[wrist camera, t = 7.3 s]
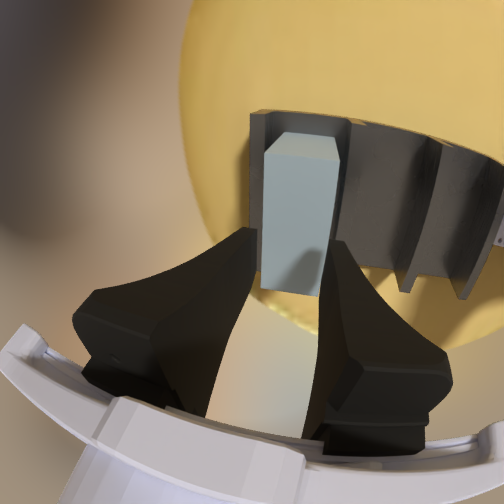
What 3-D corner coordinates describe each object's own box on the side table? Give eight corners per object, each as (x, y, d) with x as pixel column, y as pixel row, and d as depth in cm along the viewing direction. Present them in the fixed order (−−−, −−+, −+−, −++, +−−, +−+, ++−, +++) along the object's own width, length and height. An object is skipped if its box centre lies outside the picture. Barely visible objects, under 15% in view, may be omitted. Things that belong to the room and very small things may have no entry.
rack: (491, 157, 12) (517, 172, 10) (453, 271, 18) (466, 299, 15) (262, 109, 16) (248, 113, 13) (259, 242, 21) (247, 269, 18)
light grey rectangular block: (334, 137, 15) (339, 161, 10) (322, 238, 19) (317, 296, 14) (284, 131, 15) (264, 153, 10) (279, 232, 19) (260, 287, 14)
